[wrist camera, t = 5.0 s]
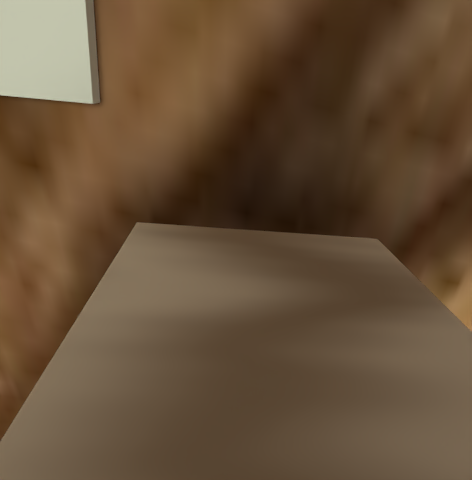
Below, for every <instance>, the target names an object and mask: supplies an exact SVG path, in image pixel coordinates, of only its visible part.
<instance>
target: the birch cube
mask: <svg viewBox="0 0 472 480" xmlns="http://www.w3.org/2000/svg"><path fill="white" fill-rule="evenodd" d="M0 480H472V332H471V331H470V330H469V329H468V328H467V327H466V326H465V325H464V324H463V323H462V322H461V321H460V320H459V319H458V318H457V317H456V316H455V315H454V314H453V313H452V312H451V311H450V310H449V309H448V308H447V307H446V306H445V305H444V304H443V303H442V302H441V301H440V300H439V299H438V298H437V297H436V296H435V295H434V294H433V293H432V292H431V291H430V290H429V289H428V288H427V287H426V286H425V285H423V284H422V283H421V282H420V281H419V280H418V279H417V278H416V277H415V276H414V275H413V274H412V273H411V272H410V271H409V270H408V269H407V268H406V267H405V266H404V265H403V264H402V263H401V262H400V261H399V260H398V259H397V258H396V257H395V256H394V255H393V254H392V253H391V252H390V251H389V250H388V249H387V248H386V247H385V246H384V245H383V244H382V243H381V242H380V241H379V240H378V239H373V238H359V237H344V236H330V235H315V234H301V233H286V232H271V231H257V230H242V229H228V228H213V227H198V226H184V225H169V224H155V223H140V222H137V223H136V225H135V226H134V228H133V229H132V231H131V233H130V234H129V236H128V237H127V239H126V241H125V242H124V244H123V245H122V247H121V249H120V250H119V252H118V254H117V255H116V257H115V258H114V260H113V262H112V263H111V265H110V266H109V268H108V270H107V271H106V273H105V274H104V276H103V278H102V279H101V281H100V282H99V284H98V286H97V287H96V289H95V290H94V292H93V294H92V295H91V297H90V298H89V300H88V302H87V303H86V305H85V307H84V308H83V310H82V311H81V313H80V315H79V316H78V318H77V319H76V321H75V323H74V324H73V326H72V327H71V329H70V331H69V332H68V334H67V335H66V337H65V339H64V340H63V342H62V343H61V345H60V347H59V348H58V350H57V351H56V353H55V355H54V356H53V358H52V360H51V361H50V363H49V364H48V366H47V368H46V369H45V371H44V372H43V374H42V376H41V377H40V379H39V380H38V382H37V384H36V385H35V387H34V388H33V390H32V392H31V393H30V395H29V396H28V398H27V400H26V401H25V403H24V404H23V406H22V408H21V409H20V411H19V412H18V414H17V416H16V417H15V419H14V421H13V422H12V424H11V425H10V427H9V429H8V430H7V432H6V433H5V435H4V437H3V438H2V440H1V441H0Z"/></svg>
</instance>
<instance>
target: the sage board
mask: <svg viewBox="0 0 472 480" xmlns="http://www.w3.org/2000/svg"><path fill="white" fill-rule="evenodd" d="M0 95H4V96H14V97H25V98H36V99H47V100H58V101H68V102H79V103H90V104H95V103H100V92H99V77H98V62H97V47H96V32H95V16H94V1H93V0H0Z"/></svg>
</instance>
